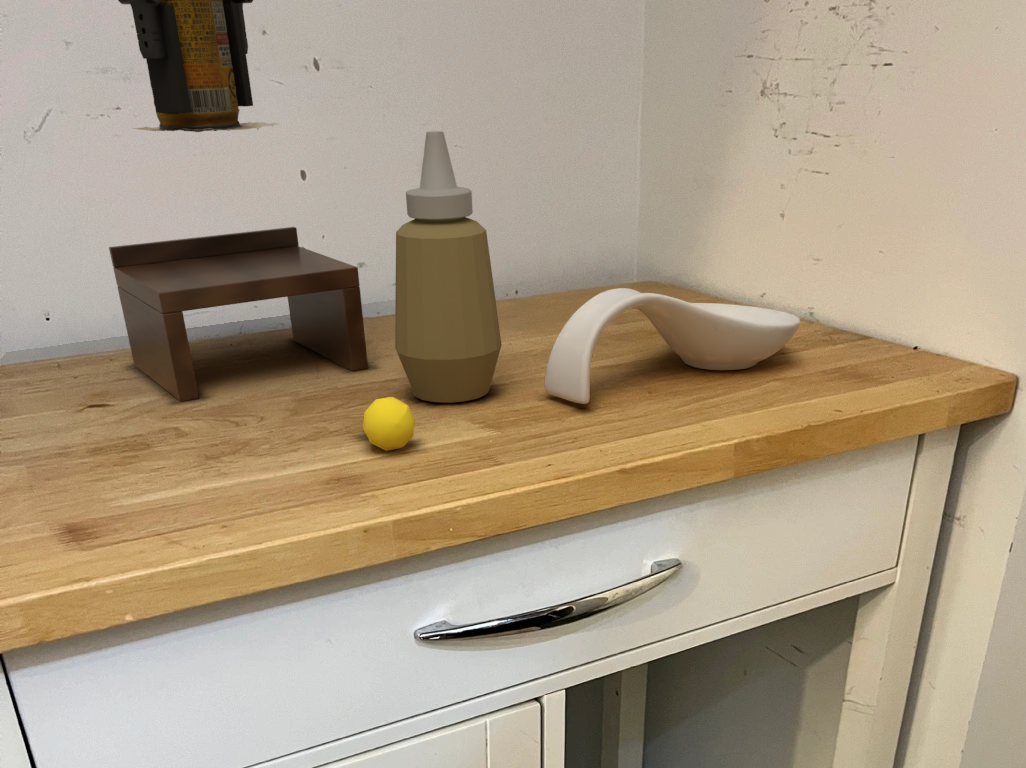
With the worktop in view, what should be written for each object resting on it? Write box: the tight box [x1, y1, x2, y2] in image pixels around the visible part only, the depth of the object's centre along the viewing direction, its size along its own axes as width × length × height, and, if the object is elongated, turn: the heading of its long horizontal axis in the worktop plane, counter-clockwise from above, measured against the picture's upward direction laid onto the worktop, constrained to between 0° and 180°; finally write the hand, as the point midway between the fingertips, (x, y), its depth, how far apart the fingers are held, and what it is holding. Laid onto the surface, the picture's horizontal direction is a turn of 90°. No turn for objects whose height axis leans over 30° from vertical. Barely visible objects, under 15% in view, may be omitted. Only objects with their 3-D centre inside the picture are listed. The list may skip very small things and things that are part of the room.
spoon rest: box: [543, 287, 801, 405], centre depth 86 cm, size 24×12×7 cm, turn 130°
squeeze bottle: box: [394, 130, 502, 404], centre depth 80 cm, size 8×8×18 cm
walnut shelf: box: [108, 226, 369, 402], centre depth 90 cm, size 16×13×10 cm
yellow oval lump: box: [362, 396, 416, 452], centre depth 74 cm, size 3×6×4 cm, turn 26°
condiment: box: [133, 0, 279, 133], centre depth 79 cm, size 7×8×12 cm
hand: (205, 108), depth 81 cm, fingers closed on condiment, 6 cm apart
